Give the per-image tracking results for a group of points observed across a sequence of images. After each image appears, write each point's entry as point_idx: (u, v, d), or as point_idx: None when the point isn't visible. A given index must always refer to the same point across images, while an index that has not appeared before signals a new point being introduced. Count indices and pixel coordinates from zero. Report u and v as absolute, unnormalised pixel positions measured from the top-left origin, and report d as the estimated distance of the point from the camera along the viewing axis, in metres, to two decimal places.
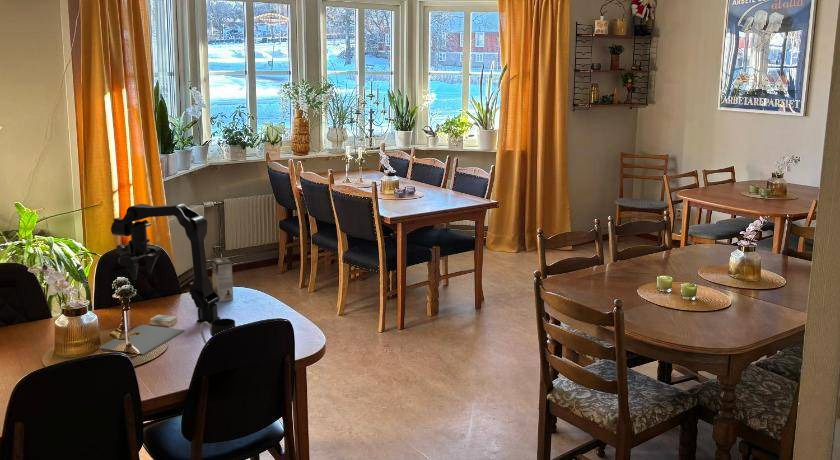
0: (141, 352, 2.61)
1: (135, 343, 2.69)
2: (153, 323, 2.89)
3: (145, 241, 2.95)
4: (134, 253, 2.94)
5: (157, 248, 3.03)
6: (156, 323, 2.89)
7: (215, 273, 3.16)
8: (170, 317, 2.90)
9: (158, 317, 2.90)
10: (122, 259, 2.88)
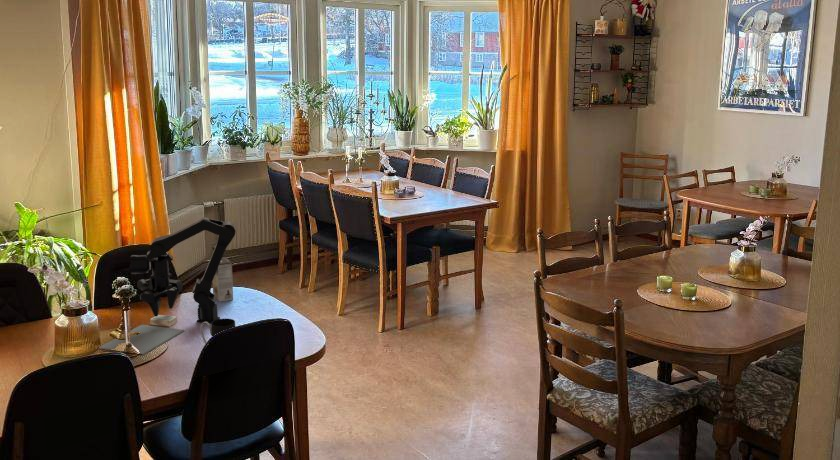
0: (141, 352, 2.61)
1: (135, 343, 2.69)
2: (153, 323, 2.89)
3: (167, 276, 2.86)
4: (156, 288, 2.85)
5: (179, 282, 2.94)
6: (156, 323, 2.89)
7: None
8: (170, 317, 2.90)
9: (158, 317, 2.90)
10: (144, 295, 2.79)
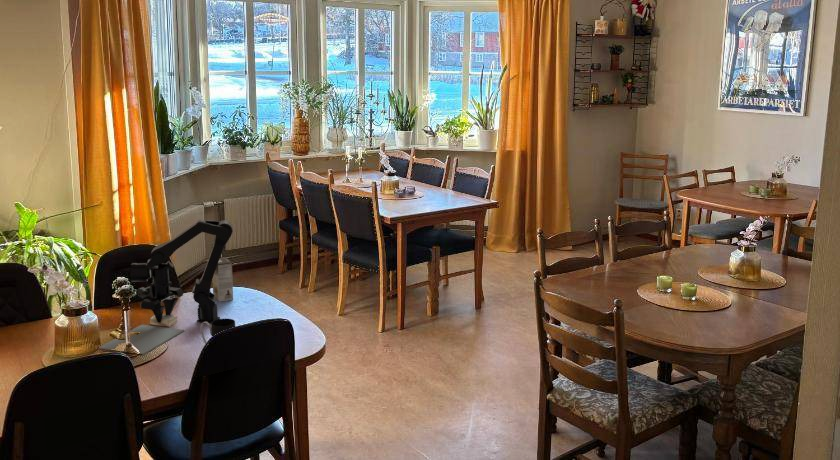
0: (141, 352, 2.61)
1: (135, 343, 2.69)
2: (153, 322, 2.89)
3: (167, 284, 2.86)
4: (156, 296, 2.86)
5: (179, 290, 2.94)
6: (156, 322, 2.88)
7: (215, 273, 3.16)
8: (170, 316, 2.90)
9: None
10: (144, 303, 2.80)
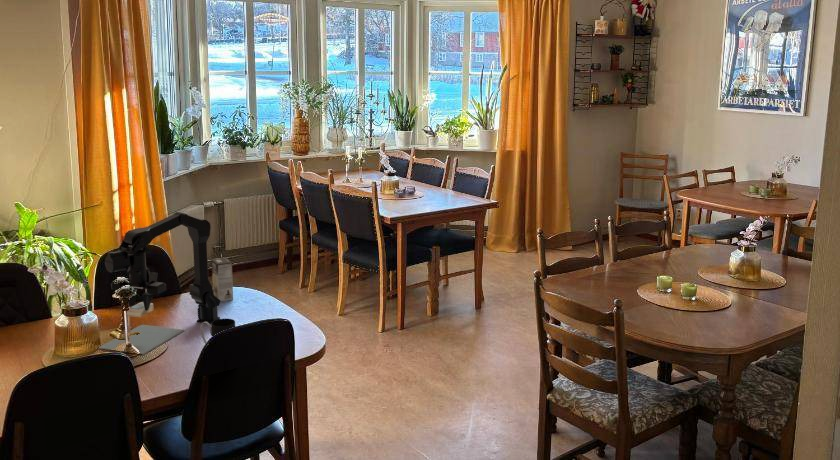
0: (141, 352, 2.61)
1: (135, 343, 2.69)
2: None
3: (132, 272, 2.66)
4: None
5: (152, 287, 2.65)
6: None
7: (215, 273, 3.16)
8: (137, 307, 2.69)
9: (141, 303, 2.73)
10: None
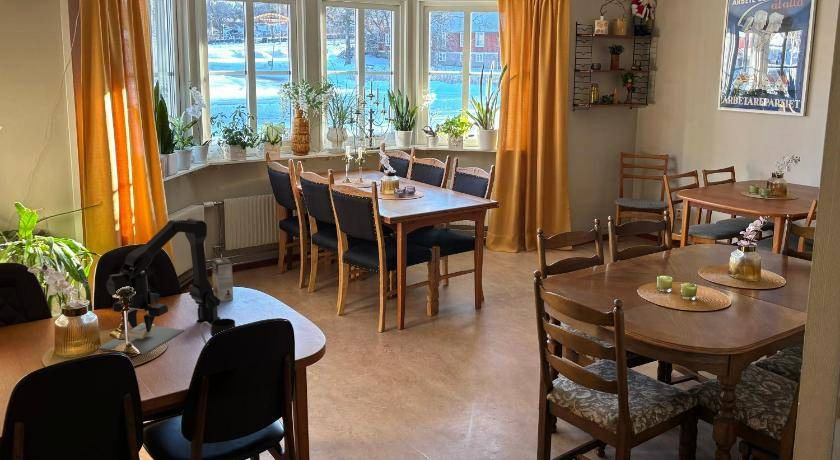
0: (141, 352, 2.61)
1: (135, 343, 2.69)
2: None
3: None
4: None
5: (153, 309, 2.67)
6: None
7: (215, 273, 3.16)
8: (139, 329, 2.71)
9: (143, 325, 2.75)
10: None
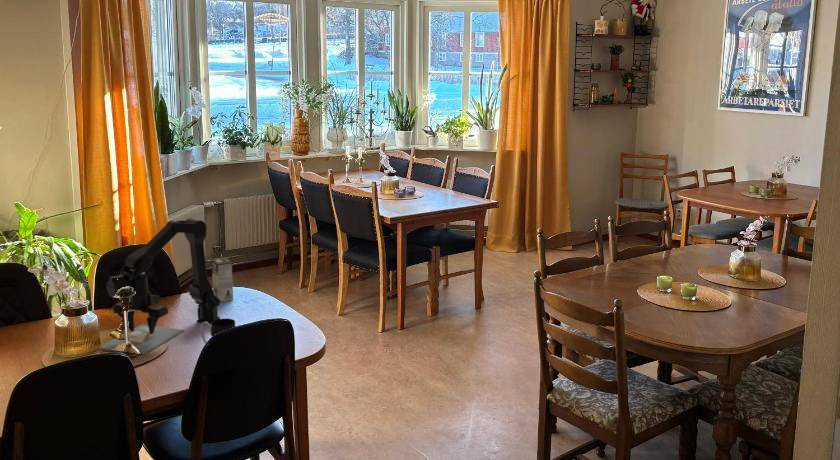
0: (141, 352, 2.61)
1: (135, 343, 2.69)
2: None
3: (133, 296, 2.68)
4: None
5: (153, 310, 2.67)
6: None
7: (215, 273, 3.16)
8: (139, 333, 2.71)
9: (143, 329, 2.75)
10: None
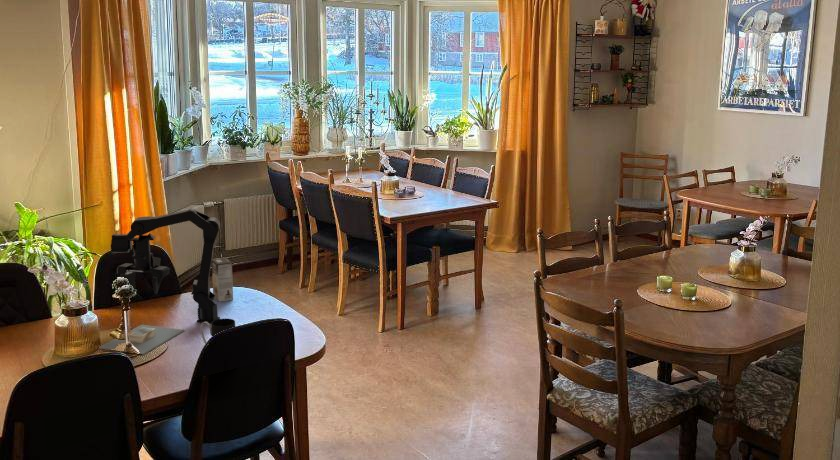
0: (141, 352, 2.61)
1: (135, 343, 2.69)
2: None
3: (137, 257, 2.82)
4: None
5: (156, 270, 2.82)
6: None
7: (215, 273, 3.16)
8: (139, 333, 2.71)
9: (143, 329, 2.75)
10: None
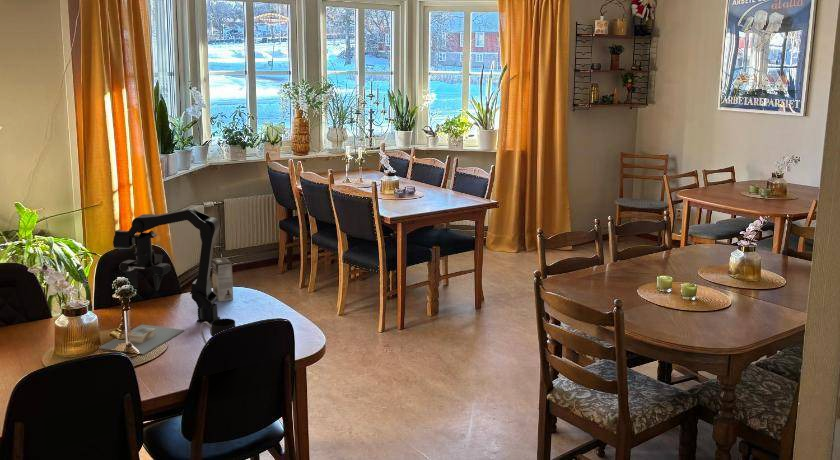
0: (141, 352, 2.61)
1: (135, 343, 2.69)
2: None
3: (138, 254, 2.86)
4: None
5: (157, 267, 2.85)
6: None
7: (215, 273, 3.16)
8: (139, 333, 2.71)
9: (143, 329, 2.75)
10: None
